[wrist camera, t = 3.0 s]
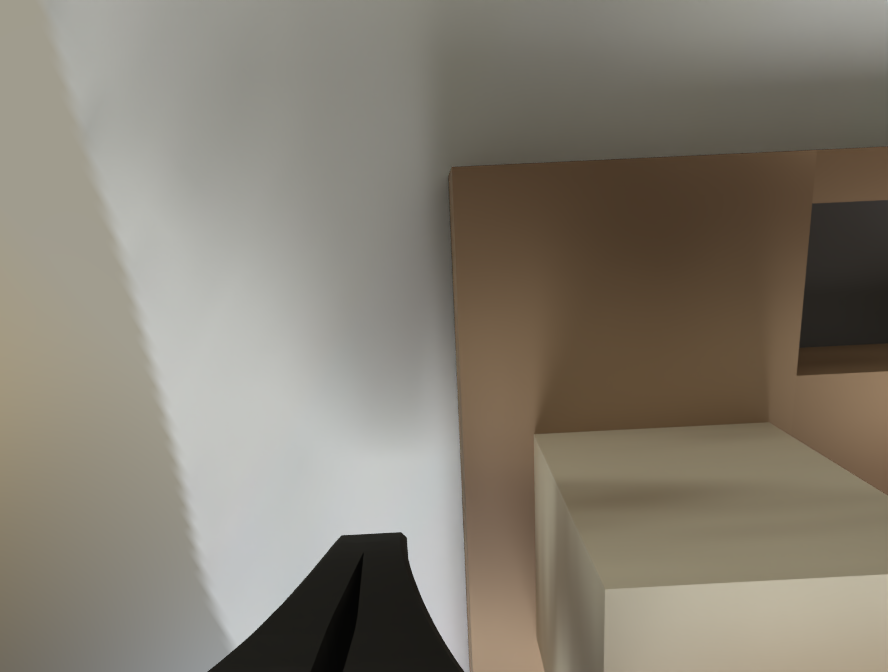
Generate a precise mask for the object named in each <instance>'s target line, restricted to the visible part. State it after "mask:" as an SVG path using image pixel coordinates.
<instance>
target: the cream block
mask: <svg viewBox="0 0 888 672" xmlns="http://www.w3.org/2000/svg"><path fill="white" fill-rule="evenodd" d="M534 480H535V557H536V634H537V642H538V646H539V650H540V654H541V658H542V662H543V666H544V670H545V672H888V495H886V494H884V493H883V492H881V491H879V490H878V489H876V488H875V487H873V486H871V485H870V484H868V483H866V482H865V481H863V480H862V479H860V478H858V477H857V476H855V475H853V474H852V473H850V472H849V471H847V470H845V469H844V468H842V467H841V466H839V465H837V464H836V463H834V462H832V461H831V460H829V459H828V458H826V457H824V456H823V455H821V454H819V453H818V452H816V451H815V450H813V449H811V448H810V447H808V446H806V445H805V444H803V443H802V442H800V441H798V440H797V439H795V438H794V437H792V436H790V435H789V434H787V433H785V432H784V431H782V430H781V429H779V428H777V427H776V426H774V425H772V424H771V423H769V422H765V423H746V424H726V425H706V426H687V427H667V428H648V429H628V430H608V431H589V432H569V433H549V434H534Z"/></svg>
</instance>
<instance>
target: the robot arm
mask: <svg viewBox="0 0 888 672" xmlns="http://www.w3.org/2000/svg"><path fill="white" fill-rule="evenodd" d="M208 672H464V671H463V669H462V668H461V667H460V665H459V664H458V662H457V661H456V659H455V658H454V656H453V655H452V653H451V652H450V650H449V649H448V647H447V645H446V644H445V642H444V641H443V639H442V637H441V635H440V634H439V632H438V630H437V628H436V626H435V625H434V623H433V621H432V619H431V617H430V615H429V613H428V611H427V609H426V607H425V604H424V602H423V600H422V598H421V595H420V593H419V590H418V588H417V585H416V582H415V580H414V577H413V574H412V571H411V568H410V564H409V560H408V549H407V537H406V536H405V535H403V534H402V533H401V532H399V533H380V534H361V535H342V536H341V537H340V538H339V539H338V540H337V541H336V542H335V543H334V545H333V546H332V547H331V548H330V549H329V551H328V552H327V553H326V554H325V555H324V557H323V558H322V559H321V560H320V562H319V563H318V564H317V565H316V566H315V568H314V569H313V570H312V571H311V572H310V573H309V575H308V576H307V577H306V578H305V579H304V580H303V581H302V583H301V584H300V585H299V586H298V587H297V588H296V589H295V590H294V592H293V593H292V594H291V595H290V596H289V597H288V598H287V599H286V600H285V602H284V603H283V604H282V605H281V606H280V607H279V608H278V609H277V610H276V611H275V612H274V613H273V614H272V615H271V616H270V617H269V618H268V619H267V620H266V621H265V622H264V623H263V624H262V625H261V626H260V627H259V628H258V629H257V630H256V631H255V632H254V633H253V634H252V635H251V636H249V637H248V638H247V639H246V640H245V641H244V642H243V643H242V644H240V645H239V646H238V647H237V648H236V649H235V650H233V651H232V652H231V653H230V654H229V655H227V656H226V657H225V658H224V659H223V660H221V661H220V662H219V663H218V664H217V665H216V666H214V667H213V668H212V669H210V670H209V671H208Z"/></svg>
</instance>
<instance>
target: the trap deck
mask: <svg viewBox="0 0 888 672" xmlns="http://www.w3.org/2000/svg"><path fill="white" fill-rule="evenodd" d="M448 181H449V204H450V227H451V250H452V273H453V296H454V319H455V343H456V366H457V389H458V412H459V435H460V458H461V481H462V505H463V528H464V551H465V574H466V597H467V620H468V643H469V667H470V672H545V670H544V666H543V662H542V658H541V654H540V650H539V646H538V642H537V634H536V557H535V480H534V434H549V433H569V432H589V431H608V430H628V429H648V428H667V427H687V426H706V425H726V424H746V423H765V422H769V423H771V424H772V425H774V426H776V427H777V428H779V429H781V430H782V431H784V432H785V433H787V434H789V435H790V436H792V437H794V438H795V439H797V440H798V441H800V442H802V443H803V444H805V445H806V446H808V447H810V448H811V449H813V450H815V451H816V452H818V453H819V454H821V455H823V456H824V457H826V458H828V459H829V460H831V461H832V462H834V463H836V464H837V465H839V466H841V467H842V468H844V469H845V470H847V471H849V472H850V473H852V474H853V475H855V476H857V477H858V478H860V479H862V480H863V481H865V482H866V483H868V484H870V485H871V486H873V487H875V488H876V489H878V490H879V491H881V492H883V493H884V494H886V495H888V147H868V148H846V149H825V150H804V151H782V152H761V153H740V154H718V155H697V156H675V157H654V158H633V159H611V160H590V161H569V162H547V163H526V164H505V165H483V166H462V167H452V168H451V170H450V173H449V176H448Z"/></svg>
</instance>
